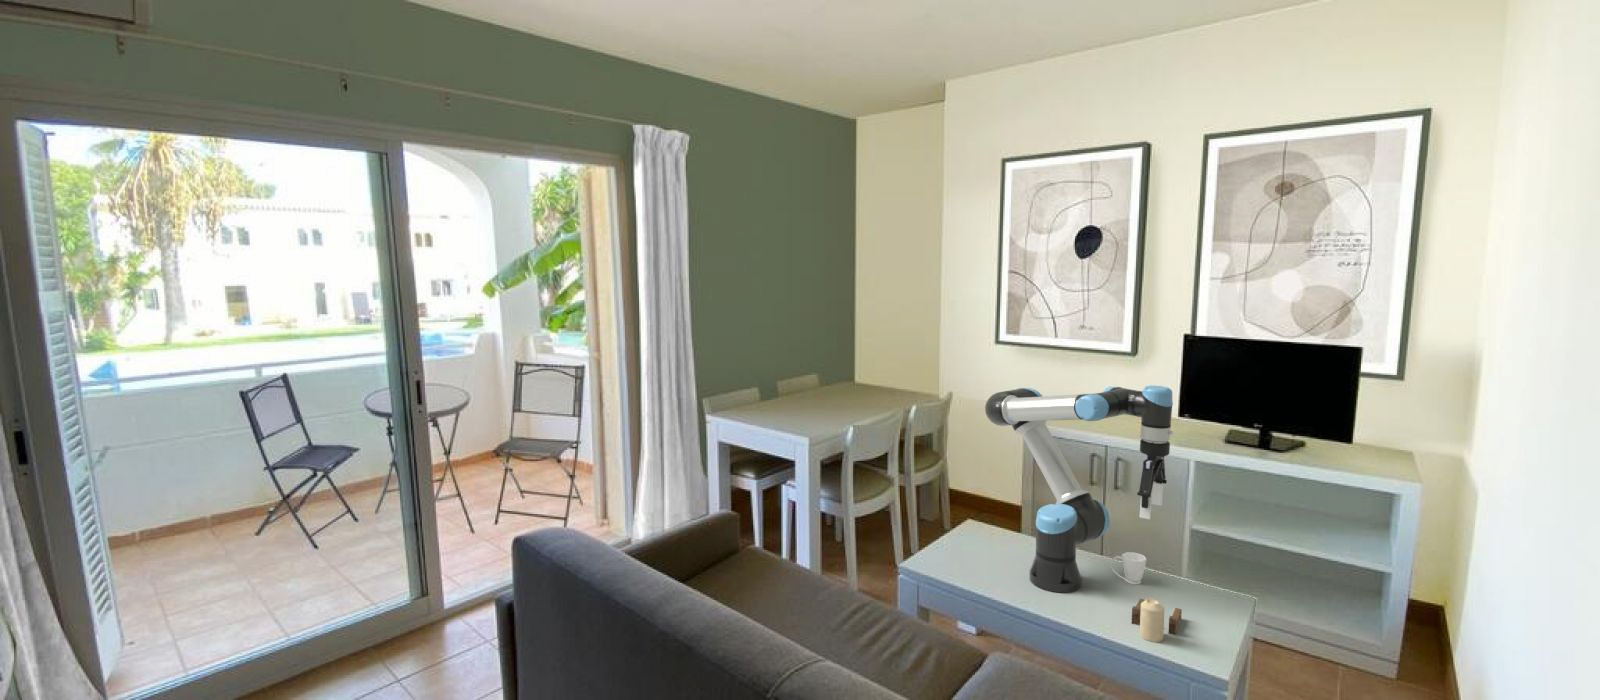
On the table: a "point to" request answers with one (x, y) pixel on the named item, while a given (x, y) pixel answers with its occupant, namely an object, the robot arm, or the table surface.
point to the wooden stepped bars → (1173, 619)
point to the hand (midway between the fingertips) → (1151, 511)
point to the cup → (1132, 567)
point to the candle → (1152, 620)
